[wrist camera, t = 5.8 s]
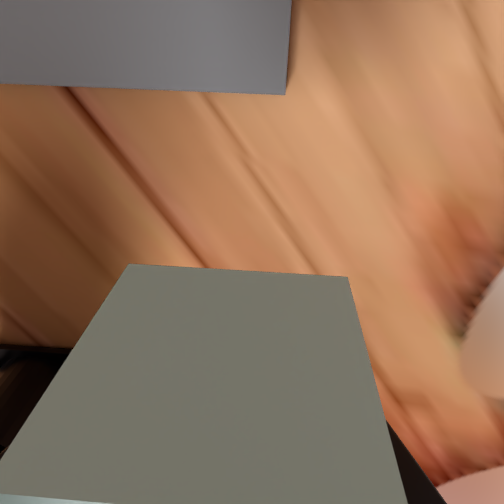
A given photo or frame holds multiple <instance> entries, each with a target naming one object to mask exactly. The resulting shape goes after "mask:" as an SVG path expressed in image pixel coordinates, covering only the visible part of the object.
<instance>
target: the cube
mask: <svg viewBox="0 0 504 504" xmlns="http://www.w3.org/2000/svg"><path fill="white" fill-rule="evenodd" d="M0 504H408V503H407V499H406V495H405V491H404V488H403V484H402V480H401V476H400V473H399V469H398V465H397V461H396V458H395V454H394V450H393V446H392V442H391V439H390V435H389V431H388V427H387V424H386V420H385V416H384V412H383V409H382V405H381V401H380V397H379V394H378V390H377V386H376V382H375V379H374V375H373V371H372V367H371V363H370V360H369V356H368V352H367V348H366V345H365V341H364V337H363V333H362V330H361V326H360V322H359V318H358V315H357V311H356V307H355V303H354V299H353V296H352V292H351V288H350V284H349V281H348V277H341V276H325V275H308V274H292V273H275V272H259V271H242V270H226V269H209V268H193V267H176V266H159V265H143V264H128V265H127V267H126V268H125V270H124V271H123V273H122V274H121V276H120V278H119V279H118V281H117V282H116V284H115V285H114V287H113V288H112V290H111V291H110V293H109V294H108V296H107V297H106V299H105V301H104V302H103V304H102V305H101V307H100V308H99V310H98V311H97V313H96V314H95V316H94V317H93V319H92V320H91V322H90V323H89V325H88V327H87V328H86V330H85V331H84V333H83V334H82V336H81V337H80V339H79V340H78V342H77V343H76V345H75V346H74V348H73V350H72V351H71V353H70V354H69V356H68V357H67V359H66V360H65V362H64V363H63V365H62V366H61V368H60V369H59V371H58V373H57V374H56V376H55V377H54V379H53V380H52V382H51V383H50V385H49V386H48V388H47V389H46V391H45V392H44V394H43V396H42V397H41V399H40V400H39V402H38V403H37V405H36V406H35V408H34V409H33V411H32V412H31V414H30V415H29V417H28V419H27V420H26V422H25V423H24V425H23V426H22V428H21V429H20V431H19V432H18V434H17V435H16V437H15V438H14V440H13V442H12V443H11V445H10V446H9V448H8V449H7V451H6V452H5V454H4V455H3V457H2V458H1V460H0Z"/></svg>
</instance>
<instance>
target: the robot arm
mask: <svg viewBox="0 0 504 504" xmlns="http://www.w3.org/2000/svg"><path fill="white" fill-rule="evenodd" d="M72 350H73V349H59V348H45V347H31V346H17V345H3V344H0V460H1V458H2V457H3V455H4V454H5V452H6V451H7V449H8V448H9V446H10V445H11V443H12V442H13V440H14V438H15V437H16V435H17V434H18V432H19V431H20V429H21V428H22V426H23V425H24V423H25V422H26V420H27V419H28V417H29V415H30V414H31V412H32V411H33V409H34V408H35V406H36V405H37V403H38V402H39V400H40V399H41V397H42V396H43V394H44V392H45V391H46V389H47V388H48V386H49V385H50V383H51V382H52V380H53V379H54V377H55V376H56V374H57V373H58V371H59V369H60V368H61V366H62V365H63V363H64V362H65V360H66V359H67V357H68V356H69V354H70V353H71V351H72ZM385 420H386V419H385ZM386 424H387V427H388V431H389V435H390V439H391V442H392V446H393V450H394V454H395V458H396V461H397V465H398V469H399V473H400V476H401V480H402V484H403V488H404V491H405V495H406V499H407V503H408V504H447V503H446V502H445V501H444V499H443V498H442V496H441V495H440V494H439V492H438V491H437V489H436V488H435V487H434V485H433V484H432V483H431V481H430V480H429V478H428V477H427V476H426V474H425V473H424V472H423V470H422V469H421V467H420V466H419V465H418V463H417V462H416V460H415V459H414V458H413V456H412V455H411V454H410V452H409V451H408V449H407V448H406V447H405V445H404V444H403V443H402V441H401V440H400V438H399V437H398V436H397V434H396V433H395V432H394V430H393V429H392V427H391V426H390V425H389V423H388V422H387V421H386Z"/></svg>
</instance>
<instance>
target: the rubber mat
mask: <svg viewBox="0 0 504 504" xmlns="http://www.w3.org/2000/svg"><path fill="white" fill-rule="evenodd" d="M291 4H292V0H0V83H1V84H25V85H50V86H74V87H99V88H124V89H148V90H173V91H197V92H222V93H247V94H271V95H285V92H286V77H287V62H288V48H289V33H290V18H291Z"/></svg>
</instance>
